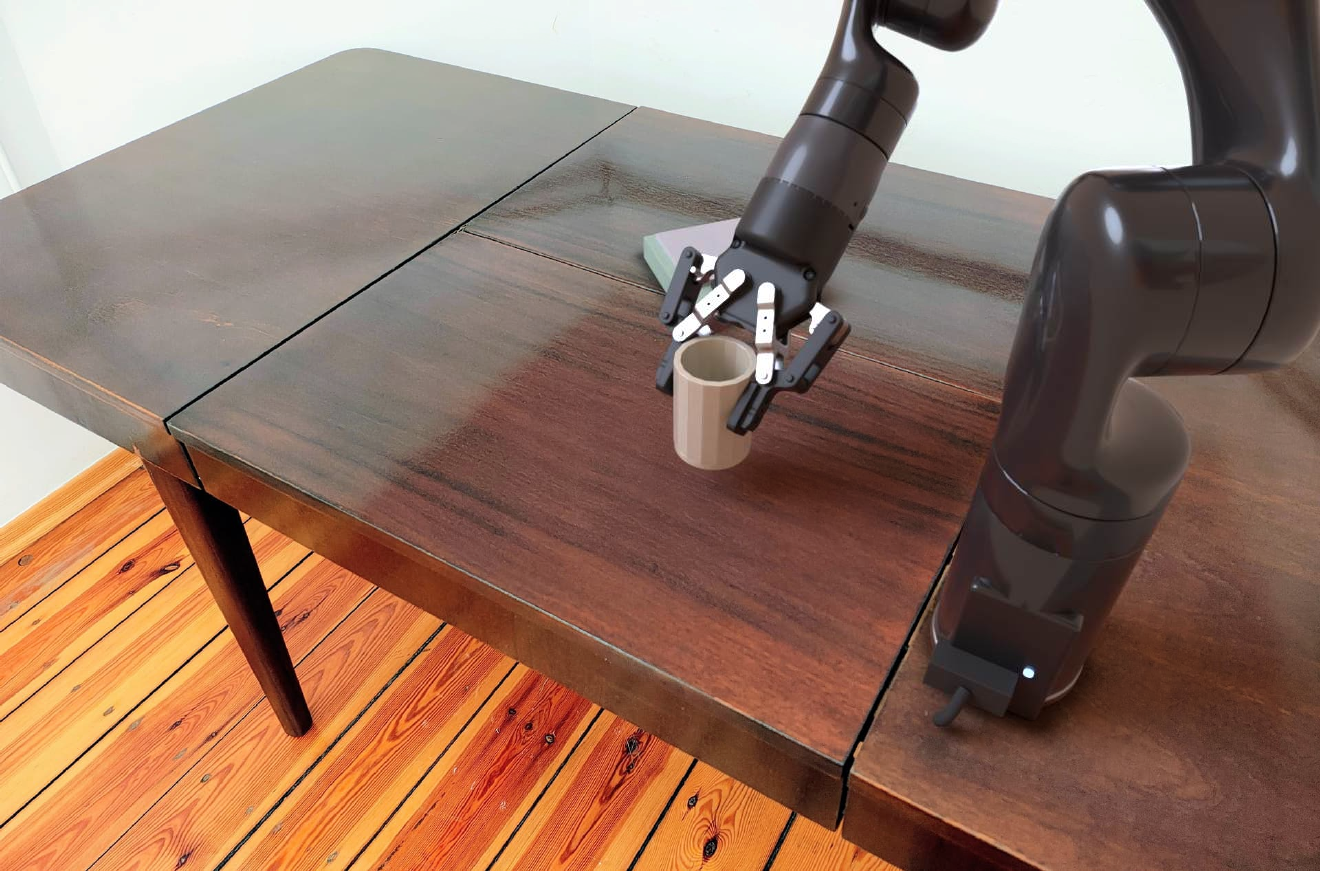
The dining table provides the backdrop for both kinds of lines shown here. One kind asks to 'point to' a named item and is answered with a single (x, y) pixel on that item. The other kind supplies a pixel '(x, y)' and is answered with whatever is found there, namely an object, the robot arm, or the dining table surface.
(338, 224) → the dining table surface
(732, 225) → the scale
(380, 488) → the dining table surface
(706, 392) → the cup
